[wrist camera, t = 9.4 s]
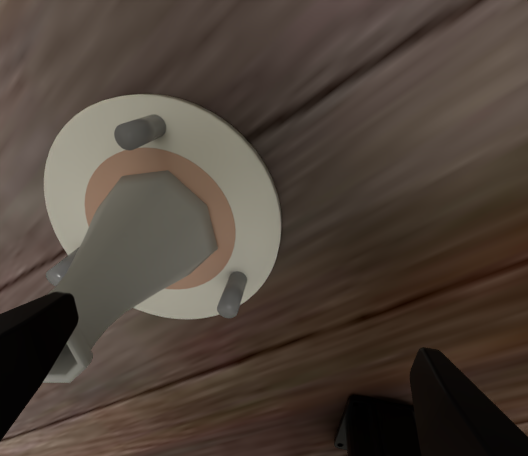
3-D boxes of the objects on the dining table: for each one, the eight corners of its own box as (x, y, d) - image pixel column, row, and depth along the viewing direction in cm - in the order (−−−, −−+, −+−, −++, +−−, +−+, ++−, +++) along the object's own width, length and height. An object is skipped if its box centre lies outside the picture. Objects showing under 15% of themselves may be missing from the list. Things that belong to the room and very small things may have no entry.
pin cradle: (267, 326, 24) (259, 371, 20) (74, 290, 25) (35, 327, 22) (299, 113, 17) (296, 126, 14) (32, 76, 18) (-36, 80, 15)
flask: (149, 288, 23) (41, 433, 14) (80, 198, 20) (-104, 305, 11) (238, 253, 20) (179, 400, 11) (173, 146, 18) (33, 229, 9)
